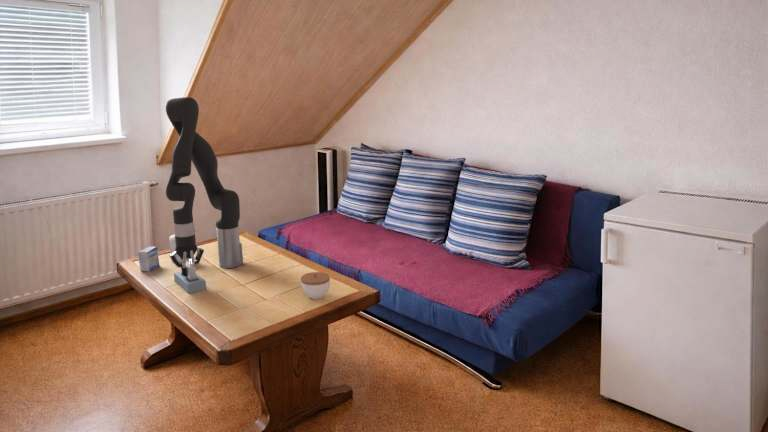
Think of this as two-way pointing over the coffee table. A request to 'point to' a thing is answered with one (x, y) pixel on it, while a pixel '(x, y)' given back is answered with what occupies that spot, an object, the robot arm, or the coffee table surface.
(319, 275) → the lidded jar
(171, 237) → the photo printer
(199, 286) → the blue-grey slotted block
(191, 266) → the metal block
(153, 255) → the medicine box
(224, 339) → the coffee table surface
